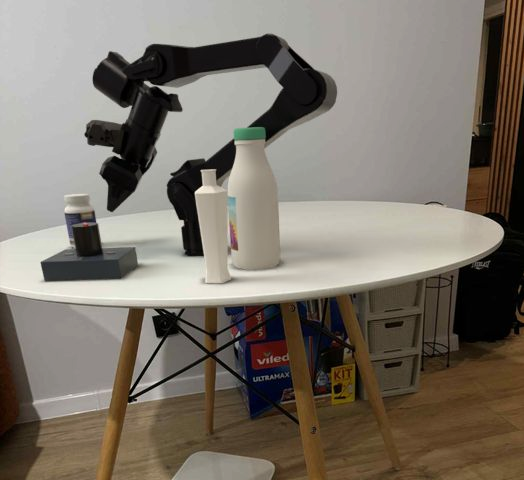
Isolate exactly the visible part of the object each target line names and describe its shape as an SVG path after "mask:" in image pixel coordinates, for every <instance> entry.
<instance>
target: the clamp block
mask: <svg viewBox="0 0 524 480" xmlns="http://www.w3.org/2000/svg"><path fill="white" fill-rule="evenodd" d="M102 249H103V253H102V254H99V255H94V256H77V254H76V249H75V248H66V249H63V250H61V251H59V252H57V253H55V254H53V255H51V256H50V257H47V258H45V259H43V260H41V261H40V267H41V271H42V275H43V281H44V282H61V281H62V282H63V281H64V282H65V281H93V280H94V281H96V280H97V281H98V280H99V281H100V280H121V279H123V278H124V277H125V276H126V275H127V274H129V273H130V272H131V271H132V270H134V269H135V268H136V267H137V266H138V265H139V261H138V255H137V249H136V246H122V247H121V246H119V247H102Z"/></svg>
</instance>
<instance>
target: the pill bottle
mask: <svg viewBox="0 0 524 480" xmlns="http://www.w3.org/2000/svg"><path fill="white" fill-rule="evenodd" d="M63 199H64V203H65V204H66V206H65V208H64V210H63V211H64V219H65V224H66V230H67V235H68V240H69V245H70V247H71V248H72V249H75V244H74V239H73V234H72V229H71V226H72V225H74V224H79V223H97V217H96V211H95V210H96V209H95V207H94V206H92V205H91V204H90V202H91V197H90V194H88V193H72V194H65V195H63Z"/></svg>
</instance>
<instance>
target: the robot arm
mask: <svg viewBox="0 0 524 480" xmlns="http://www.w3.org/2000/svg"><path fill="white" fill-rule="evenodd" d="M107 53H108V54H107V56H106V57H105V58H104V59H102V60H101V61H100V62H99V64H98V65H97V66H96V67H95V68H94V70H93V73H92V85H93V87H94V89H95V90H96V91H98V92H100V94H103V95H104V96H105V97H106V98H108V99H110V100H111V101H112V102H113V103H115V104H116V105H117V106H118V107H120V108H123V109H127V108H129V107H131V108H130V111H129V114H128V117H127V119H125V122H122V123H118V122H115V121H107V120H100V119H92V120H90V121H88V122H87V123H86V124H85V132H84V134H83V135H84V137H85V138H86V143H87V144H86V145H88V146H91V147H92V146H93V147H95V146H99V147H105V148H112V149H111V152H112V153H114V154H115V155H112V156H109V157H107V158H106V159H105V160H104V161H103V163H101V166H100V170H99V173H98V174H99V175H100V177H101V178H102V179H103V180H104V181H105V182H106V184H107V198H106V201H107V202H106V210H107V211H108V212H110V213H114V212H115V211H116V210H117V209H118V208H119V207H120V206H121V205H122V204H123V203H124V202H125V201H126V200H128V198H129V197H131V195H133V194H134V193H135V192H136V190H137V189H138V187H139V185H140V183H141V180H142V178H143V176H144V175H145V174H146V173H147V172H148V171H149V170H150V168H151V167H152V165H153V164H154V162H155V160H156V158H157V155H158V150H157V148H156V145H157V142H158V141H159V139H160V137H161V133H162V129H163V127H164V124H165V122H166V120H167V116H168V114H169V112H170V113H182V112H183V110H184V109H183V106H182V104H181V102H180V99H179V94H177V93H172V92H171V93H167V92H166V91H165V90H163V89H162V88H160V87H167V88H175V89H178V88H182V87H185V86H187V85H191V84H193V83H195V82H197V81H198V80H200V79H201V78H204V77H207V76H212V75H213V76H214V75H220V74H226V73H227V74H228V73H234V72H242V71H243V72H244V71H251V70H256V69H257V70H258V69H264V68H267V69H268V71H269V72H270V74H271V75H272V77H273V78H274V79H275V80H276V82H277V83H278V84H279V85H280V86H281V87H282V88H281V90H280V91H279V93H278V94H277V96H276V98H275V99H274V101H273V103H272V104H271V106H270V107H269V109H267V110H266V111H265V112H264V113H262V114H261V115H260V116H259V117H258V118H257V119H255V120H254V121H253V122H251V123H250V124H249V125H248V126H247V127H246V128H252V127H263V128H265V142H266V143H265V144H264V149H266V148H268V147H269V146H271V144H273V143H274V142H275V141H277V140H278V139H280V138H281V137H282V136H283V135H284V134H286V133H287V132H288V131H290V130H292V129H294V128H296V127H298V126H301V125H304V124H305V123H308V122H310V121H312V120H314V119H316V118H318V117H320V116H322V115H324V114H326V113H327V112H330V111H331V109H333V107H334V106H335V104H336V103H337V97H338V86H337V83H336V81H335V80H334V77H332V76H331V75H330V74H328V73H327V72H324V71H321V70H317V69H315V68H314V67H313V66H312V65H311V64H310V63H309V62H308V61H306V60H305V59H304V58H303V57H302V56H301V55H300V54H299V53H297V52H296V51H295V50H294V49H293V48H292V47H291V46H290V45H289V44H288V42H287V40H286V39H284V38H283V37H281V36H279V35H276V34H274V33H265V34H263V35H261V36H257V37H249V38H245V39H244V38H243V39H238V40H232V41H231V40H230V41H225V42H219V43H212V44H206V45H200V46H183V45H176V44H166V43H151V44H149V45H148V46H146V47H145V49H144V52H143V55H142V56H140V57H139V58H138V59H136V60H134V61H132V62H129V61H127V59H125V57H124V56H122V55H121V54H120V53H119V52H117V51H112V50H110V51H108V52H107ZM145 82H147V83H149V84H151V85H152V86H150V85H148V84H146V83H145ZM249 140H255V139H249ZM235 141H237V140H234V137H233V138H232V139H230V141H228V142H227V143H226V144H225V145H224V146H222V147H221V148H220V149H219V150H217V152H215V153H214V154H213V155H212V156H210V157H209V158H208V159H207V160H206V159H205V157H203V158H202V157H201V158H195V159H188V160H186V161H185V162H183V164H182V165H181V166H180V167H179V168H178V169H177V170H175V171H173V172H170V176H171V178H170V179H169V180H168V181H167V183H166V195H167V199H168V201H169V203H170V204H171V205H172V207H173V210H174V211H175V214H176V216H177V219H178V221H183V225H182V226H181V227H180V228H181V229H180V230H181V231H180V232H181V239H182V247H183V248H182V249H183V250H184V256H200V255H201V256H202V255H203V256H204V251H203V245H202V238H201V232H200V225H199V219H198V212H197V206H196V199H195V191H197V190H198V189H199V188H200V187H202V186H203V181H202V172H201V170H209V169H215V170H216V171H215V172H216V185H218V186H220V187H221V188H222V185H223V184H224V182H225V181H226V179H228V178H229V177H230V174H231V171H232V168H233V165H234V161H235V157H236V145H235ZM117 155H118V156H119V157H118V156H117Z"/></svg>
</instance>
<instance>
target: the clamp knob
mask: <svg viewBox="0 0 524 480" xmlns="http://www.w3.org/2000/svg"><path fill="white" fill-rule="evenodd" d="M71 229H72V234H73V239H74V244H75V248H74V249H76V254H77V256H94V255H99V254H102V253H103V249H102V248H103V244H102V238H101V231H100V225H99V223H98V222H96V223H79V224H74V225H72V226H71Z"/></svg>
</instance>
